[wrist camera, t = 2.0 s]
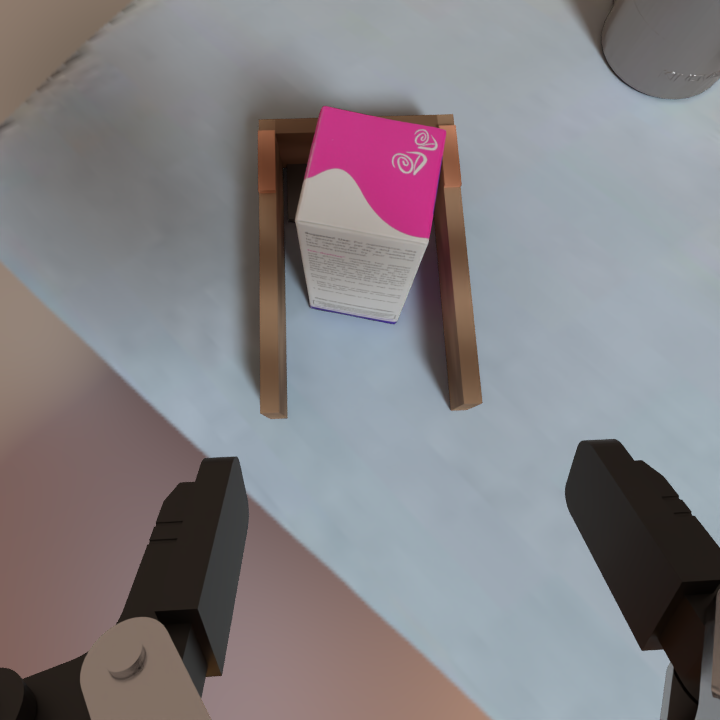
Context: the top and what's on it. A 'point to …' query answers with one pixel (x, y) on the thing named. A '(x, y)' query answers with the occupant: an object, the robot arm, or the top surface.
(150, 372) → the top surface
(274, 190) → the channel
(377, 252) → the supplement box
